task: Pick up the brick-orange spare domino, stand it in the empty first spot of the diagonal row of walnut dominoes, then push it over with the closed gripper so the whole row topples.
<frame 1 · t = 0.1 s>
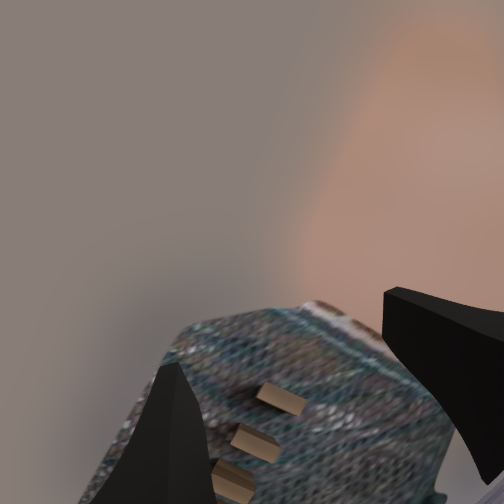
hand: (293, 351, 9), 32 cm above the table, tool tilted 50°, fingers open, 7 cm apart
domino 2: (212, 503, 30), on the table
domino 3: (232, 471, 32), on the table
domino 4: (253, 436, 35), on the table
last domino: (274, 399, 37), on the table
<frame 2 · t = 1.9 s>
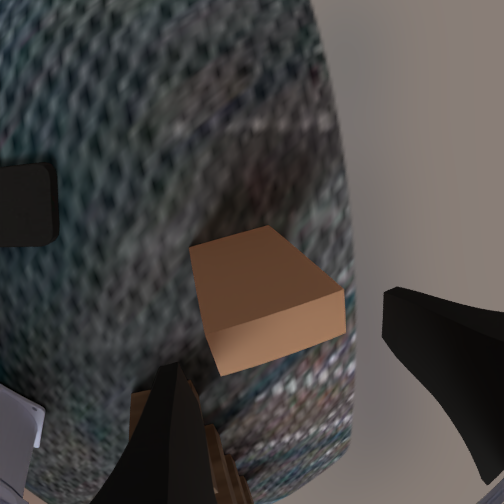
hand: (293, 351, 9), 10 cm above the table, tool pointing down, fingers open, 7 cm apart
domino 2: (165, 395, 21), on the table
domino 3: (190, 435, 23), on the table
domino 4: (209, 463, 26), on the table
spare domino: (232, 251, 19), on the table
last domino: (224, 483, 28), on the table
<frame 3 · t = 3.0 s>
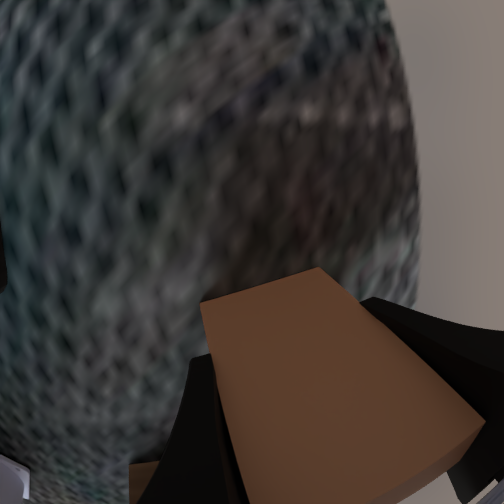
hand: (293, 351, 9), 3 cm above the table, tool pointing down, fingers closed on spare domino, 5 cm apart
domino 2: (170, 466, 15), on the table
spare domino: (265, 305, 12), on the table, touching gripper
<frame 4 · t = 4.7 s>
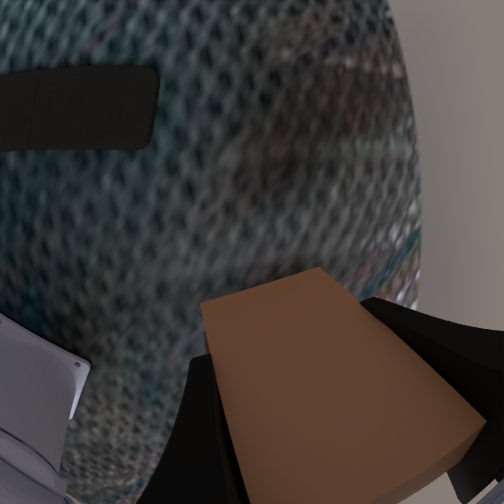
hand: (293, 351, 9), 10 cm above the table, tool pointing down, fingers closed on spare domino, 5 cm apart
remote control: (43, 110, 13), on the table
spare domino: (266, 305, 12), point 7 cm above the table, touching gripper
when the fingers open (4 cm above the table, at t = 6.6 s): spare domino stays where it is, on the table.
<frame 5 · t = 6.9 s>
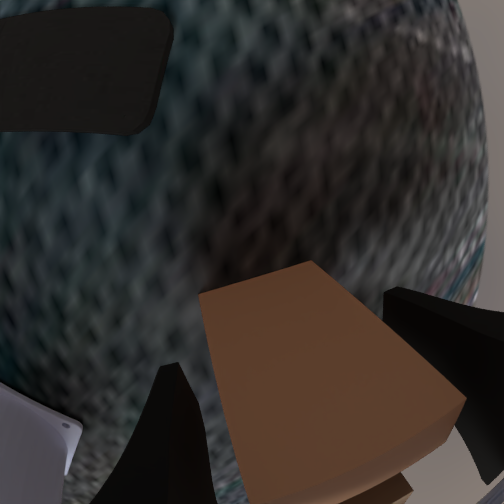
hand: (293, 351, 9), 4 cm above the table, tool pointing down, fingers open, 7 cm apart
domino 2: (280, 387, 15), on the table
remote control: (4, 77, 8), on the table
spare domino: (260, 297, 13), on the table
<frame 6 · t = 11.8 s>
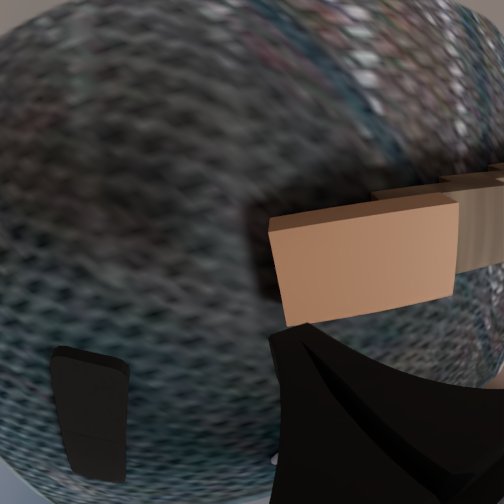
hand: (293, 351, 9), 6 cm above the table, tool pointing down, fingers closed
domino 2: (378, 240, 16), point 1 cm above the table, tilted 70°, touching domino 3, spare domino
domino 3: (446, 217, 16), point 1 cm above the table, tilted 72°, touching domino 2, domino 4
domino 4: (496, 198, 17), point 1 cm above the table, tilted 73°, touching domino 3
remote control: (94, 421, 17), on the table
spare domino: (278, 273, 15), point 1 cm above the table, tilted 70°, touching domino 2
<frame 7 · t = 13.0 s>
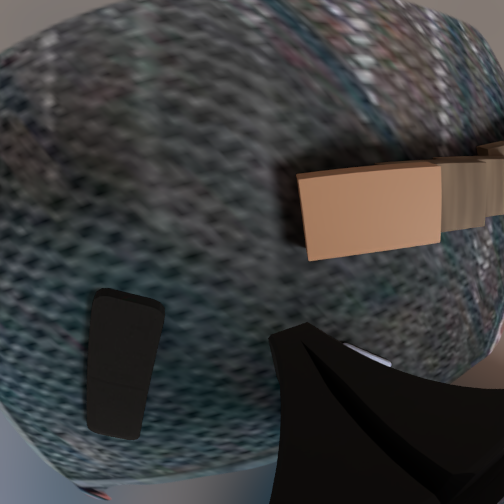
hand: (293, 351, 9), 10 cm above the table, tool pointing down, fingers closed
domino 2: (381, 200, 19), point 1 cm above the table, tilted 72°, touching domino 3, spare domino
domino 3: (439, 189, 20), point 1 cm above the table, tilted 73°, touching domino 2
domino 4: (485, 173, 21), point 1 cm above the table, tilted 71°, touching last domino
remote control: (119, 371, 21), on the table
spare domino: (302, 217, 18), point 1 cm above the table, tilted 71°, touching domino 2
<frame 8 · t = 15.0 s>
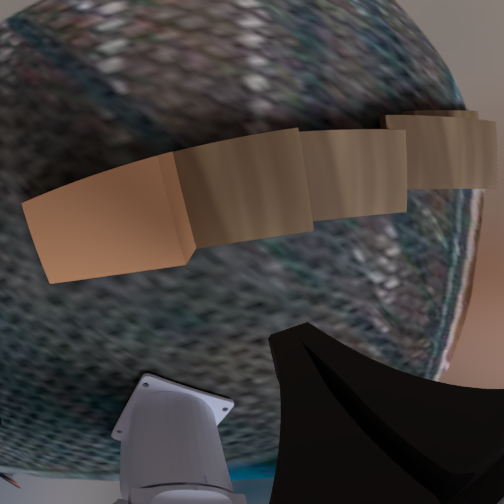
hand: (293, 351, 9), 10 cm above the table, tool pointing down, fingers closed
domino 2: (138, 208, 16), point 1 cm above the table, tilted 72°, touching domino 3, spare domino
domino 3: (254, 179, 17), point 1 cm above the table, tilted 78°, touching domino 2, domino 4
domino 4: (385, 151, 18), point 1 cm above the table, tilted 65°, touching domino 3, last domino
spare domino: (44, 238, 15), point 1 cm above the table, tilted 71°, touching domino 2
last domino: (410, 143, 19), on the table, tilted 90°, touching domino 4
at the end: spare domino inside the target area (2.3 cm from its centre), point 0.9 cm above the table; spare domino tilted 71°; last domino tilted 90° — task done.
